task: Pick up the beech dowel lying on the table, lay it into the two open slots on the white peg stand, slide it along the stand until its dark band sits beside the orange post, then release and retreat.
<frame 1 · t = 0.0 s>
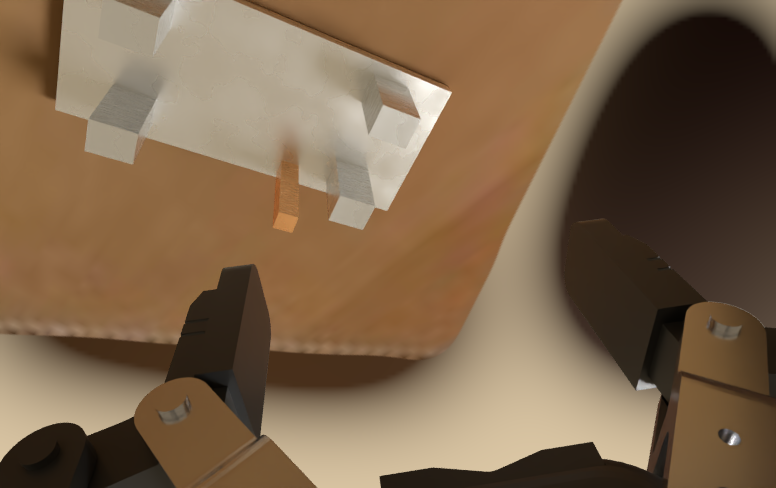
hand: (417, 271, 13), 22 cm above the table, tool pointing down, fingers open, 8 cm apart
white peg stand: (262, 94, 32), on the table
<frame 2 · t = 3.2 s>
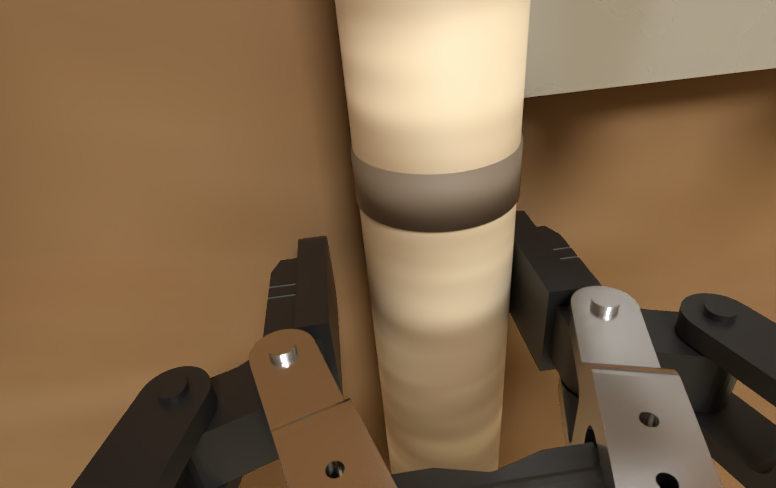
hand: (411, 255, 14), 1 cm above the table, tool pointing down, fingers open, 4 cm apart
dowel: (438, 277, 13), point 2 cm above the table, tilted 26°
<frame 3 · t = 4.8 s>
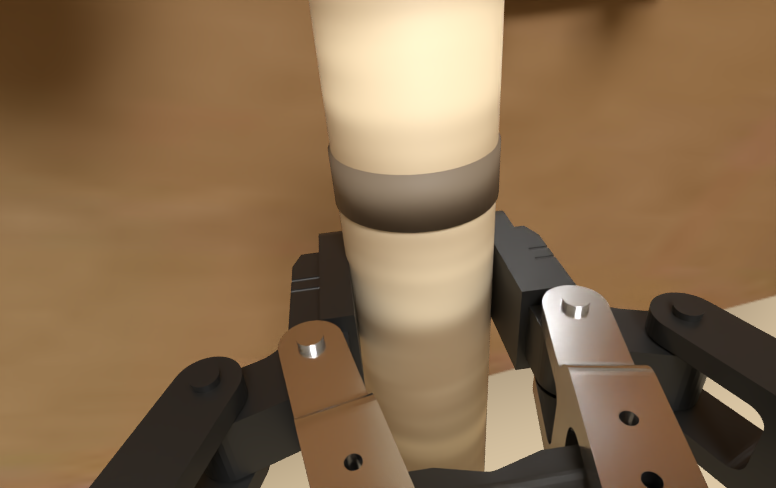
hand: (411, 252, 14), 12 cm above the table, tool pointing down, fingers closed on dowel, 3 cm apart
dowel: (420, 277, 13), point 13 cm above the table, tilted 12°, touching gripper
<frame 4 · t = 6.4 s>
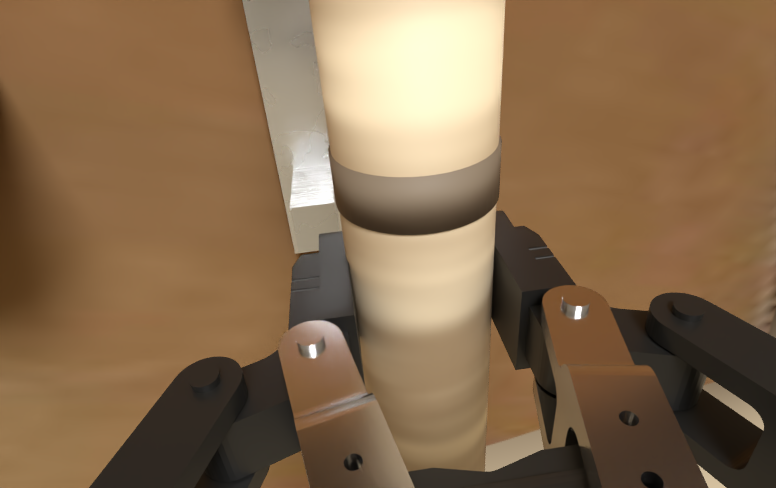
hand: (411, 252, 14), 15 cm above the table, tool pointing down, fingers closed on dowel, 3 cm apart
white peg stand: (359, 39, 24), on the table
dowel: (420, 279, 13), point 16 cm above the table, tilted 11°, touching gripper
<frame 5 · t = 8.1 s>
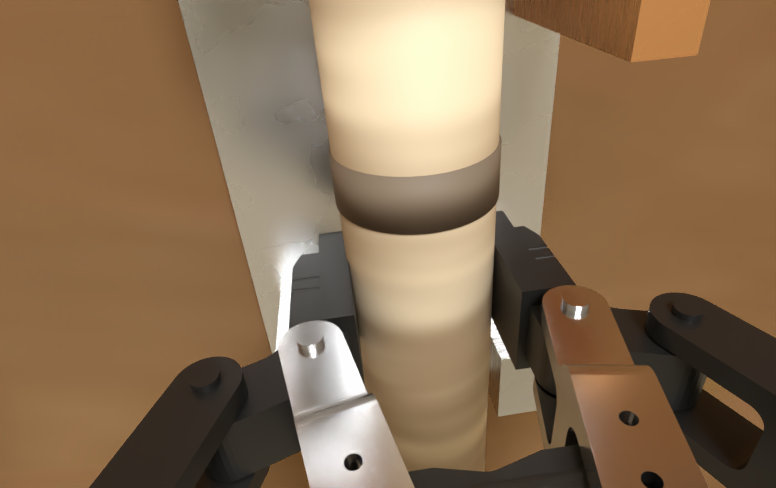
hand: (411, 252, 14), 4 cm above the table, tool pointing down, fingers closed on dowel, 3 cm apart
white peg stand: (383, 106, 16), on the table
dowel: (420, 278, 13), point 5 cm above the table, tilted 11°, touching gripper
when the fingers open (2 cm above the table, at t = 9.6 s): dowel stays where it is, resting on white peg stand.
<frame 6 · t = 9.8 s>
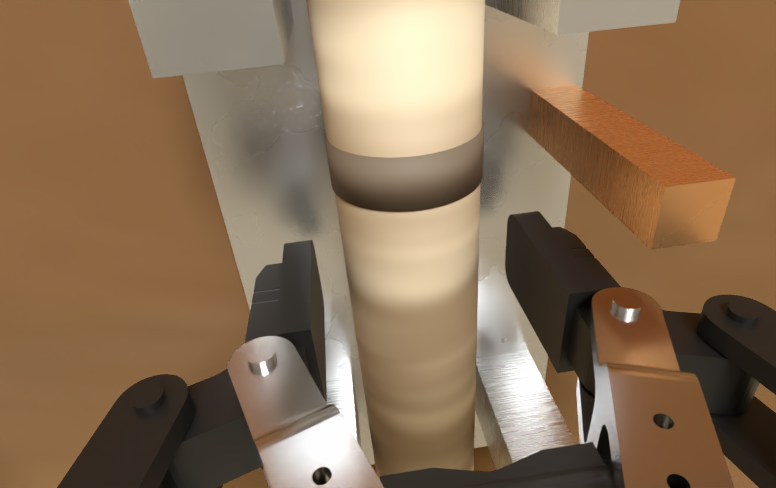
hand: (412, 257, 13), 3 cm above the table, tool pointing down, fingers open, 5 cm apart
white peg stand: (398, 210, 16), on the table
dowel: (411, 258, 13), point 3 cm above the table, tilted 11°, touching white peg stand
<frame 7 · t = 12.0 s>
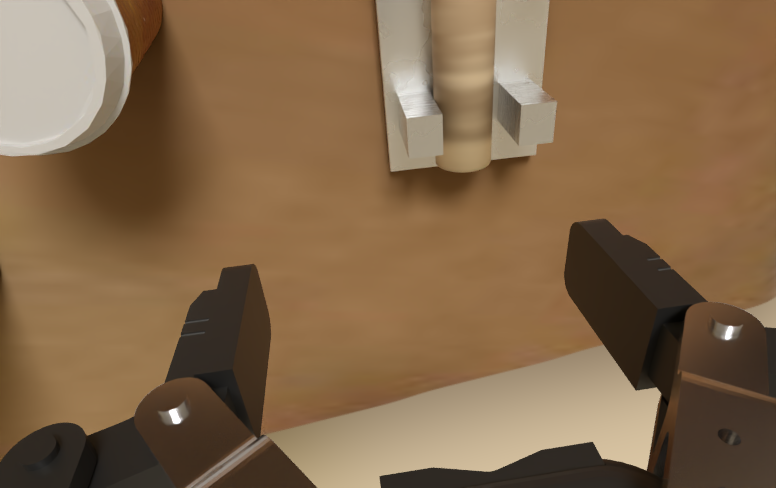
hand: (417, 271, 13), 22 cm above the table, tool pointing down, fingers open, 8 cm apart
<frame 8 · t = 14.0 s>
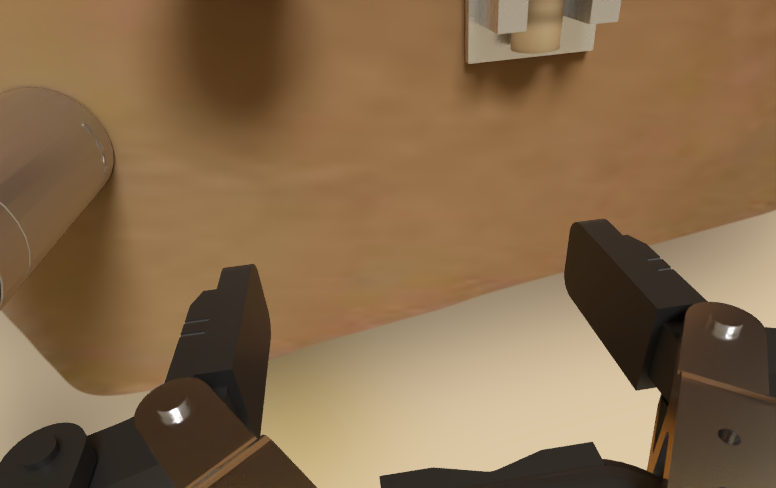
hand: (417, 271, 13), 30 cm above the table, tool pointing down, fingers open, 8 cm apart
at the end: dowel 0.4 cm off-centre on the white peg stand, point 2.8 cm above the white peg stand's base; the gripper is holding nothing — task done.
